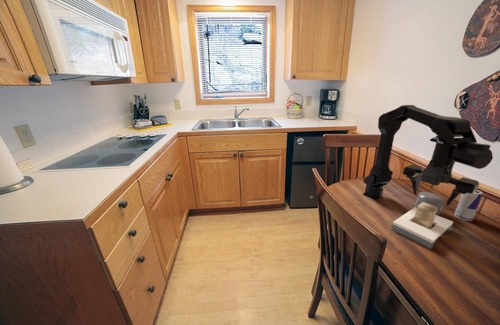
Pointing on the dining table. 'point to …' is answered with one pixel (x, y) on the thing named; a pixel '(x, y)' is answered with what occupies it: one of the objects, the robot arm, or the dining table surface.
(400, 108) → the robot arm
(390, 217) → the dining table surface
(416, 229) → the hole board
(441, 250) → the dining table surface
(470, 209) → the energy drink
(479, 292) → the dining table surface
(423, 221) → the wood peg
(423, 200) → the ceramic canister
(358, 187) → the dining table surface
